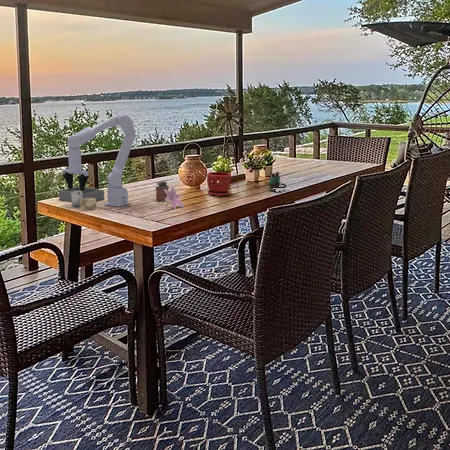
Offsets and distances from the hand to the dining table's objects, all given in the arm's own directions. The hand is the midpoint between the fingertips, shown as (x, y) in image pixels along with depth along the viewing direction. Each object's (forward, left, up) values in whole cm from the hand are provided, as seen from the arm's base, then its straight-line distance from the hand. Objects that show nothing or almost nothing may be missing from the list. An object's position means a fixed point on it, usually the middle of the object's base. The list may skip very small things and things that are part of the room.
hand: (76, 189), depth 247 cm
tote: (+8, -12, -8) cm, 16 cm away
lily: (-40, -23, -8) cm, 47 cm away
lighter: (-27, -33, -8) cm, 43 cm away
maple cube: (-9, +2, -8) cm, 12 cm away
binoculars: (-67, -90, -8) cm, 112 cm away
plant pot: (-44, -62, -8) cm, 76 cm away
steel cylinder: (0, 0, -8) cm, 8 cm away
